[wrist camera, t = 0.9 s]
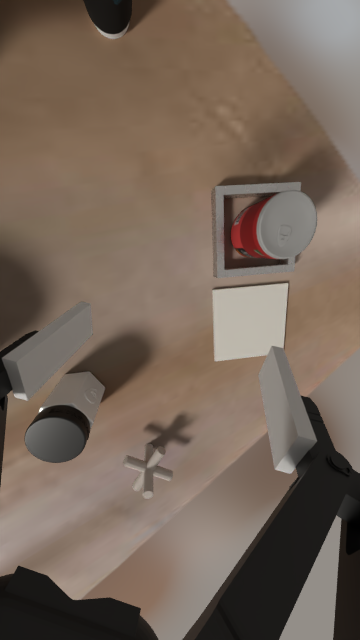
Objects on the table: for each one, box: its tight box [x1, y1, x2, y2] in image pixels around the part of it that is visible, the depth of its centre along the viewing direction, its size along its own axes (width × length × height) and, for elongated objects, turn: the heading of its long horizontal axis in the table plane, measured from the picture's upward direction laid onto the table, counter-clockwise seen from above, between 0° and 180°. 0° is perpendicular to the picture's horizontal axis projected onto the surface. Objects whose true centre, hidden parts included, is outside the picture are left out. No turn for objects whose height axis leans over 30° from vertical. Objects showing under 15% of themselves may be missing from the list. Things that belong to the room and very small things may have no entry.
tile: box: [212, 283, 288, 361], centre depth 42 cm, size 14×14×1 cm
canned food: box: [231, 190, 317, 259], centre depth 32 cm, size 8×8×11 cm
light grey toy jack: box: [123, 444, 173, 499], centre depth 43 cm, size 10×10×10 cm
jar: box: [25, 371, 105, 463], centre depth 37 cm, size 9×8×12 cm
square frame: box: [211, 182, 301, 278], centre depth 36 cm, size 13×13×2 cm
